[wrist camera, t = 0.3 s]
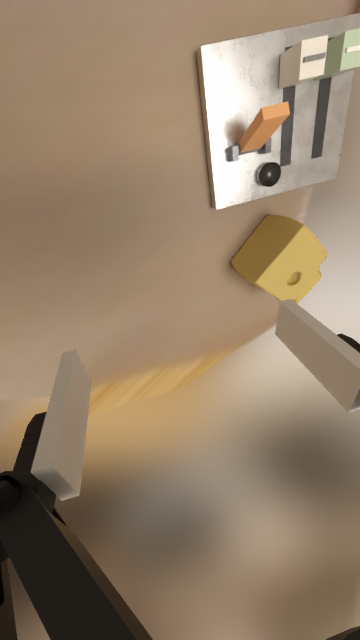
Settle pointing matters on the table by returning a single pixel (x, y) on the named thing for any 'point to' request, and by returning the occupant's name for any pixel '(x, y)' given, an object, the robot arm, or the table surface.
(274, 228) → the cheese
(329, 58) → the slider sage
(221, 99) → the panel
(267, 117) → the lever orange
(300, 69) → the slider ivory
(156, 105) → the table surface
